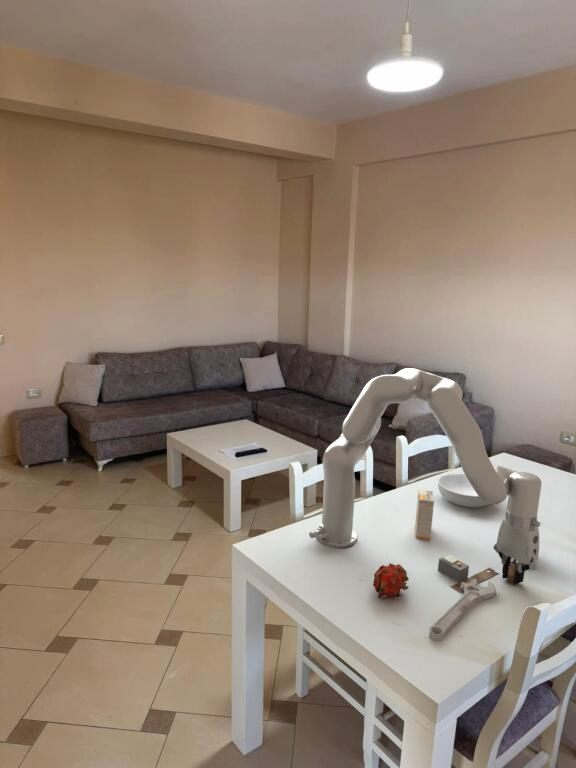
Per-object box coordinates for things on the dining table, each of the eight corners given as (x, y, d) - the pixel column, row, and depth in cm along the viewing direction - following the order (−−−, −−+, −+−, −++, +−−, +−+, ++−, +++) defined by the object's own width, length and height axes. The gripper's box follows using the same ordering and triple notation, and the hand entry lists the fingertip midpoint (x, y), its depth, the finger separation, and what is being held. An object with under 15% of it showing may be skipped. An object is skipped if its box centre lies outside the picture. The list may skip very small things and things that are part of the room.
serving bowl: (500, 498, 201) (503, 481, 200) (487, 520, 184) (490, 501, 183) (445, 485, 212) (447, 468, 211) (428, 504, 195) (430, 486, 193)
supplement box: (430, 539, 169) (434, 501, 166) (415, 537, 170) (418, 499, 167) (429, 527, 177) (433, 490, 174) (414, 525, 178) (418, 488, 175)
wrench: (417, 624, 126) (470, 572, 148) (416, 631, 127) (469, 578, 149) (449, 641, 121) (499, 585, 143) (448, 648, 122) (498, 591, 144)
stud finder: (458, 583, 147) (460, 568, 146) (437, 571, 152) (439, 557, 151) (467, 578, 149) (469, 564, 148) (446, 567, 155) (448, 552, 154)
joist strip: (459, 592, 143) (459, 591, 143) (450, 586, 145) (450, 586, 145) (498, 573, 152) (498, 572, 152) (489, 568, 155) (489, 567, 154)
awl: (513, 585, 146) (517, 560, 145) (504, 580, 149) (507, 555, 147) (519, 582, 148) (523, 557, 146) (510, 577, 150) (513, 553, 148)
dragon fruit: (404, 589, 146) (380, 615, 138) (382, 564, 149) (357, 588, 140) (421, 575, 140) (397, 601, 132) (398, 549, 143) (373, 574, 135)
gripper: (557, 527, 140) (547, 590, 144) (502, 503, 153) (494, 562, 157) (541, 535, 135) (531, 599, 140) (485, 510, 148) (478, 569, 153)
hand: (512, 579), depth 148 cm, fingers closed on awl, 2 cm apart
